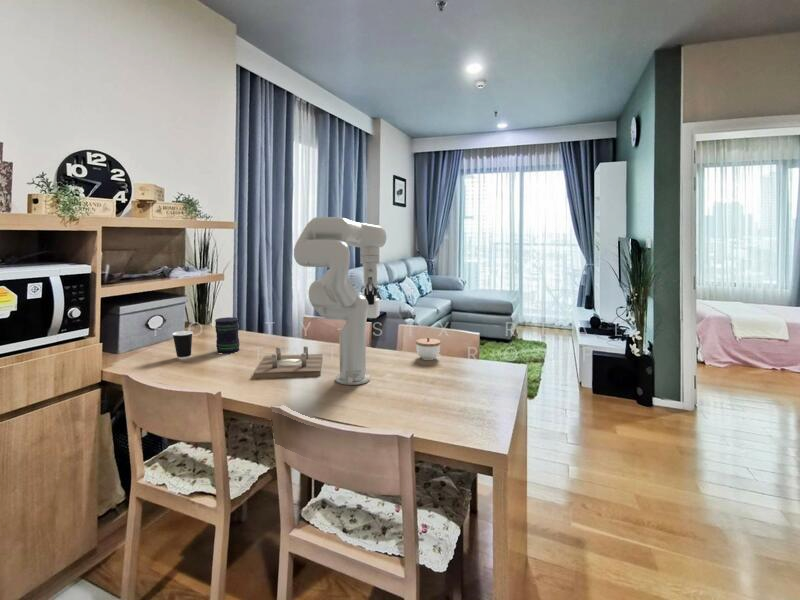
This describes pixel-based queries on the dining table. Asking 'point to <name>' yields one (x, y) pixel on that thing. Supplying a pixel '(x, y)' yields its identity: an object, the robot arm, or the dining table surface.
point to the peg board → (289, 365)
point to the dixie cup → (183, 343)
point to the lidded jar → (428, 348)
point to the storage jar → (227, 335)
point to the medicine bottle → (372, 309)
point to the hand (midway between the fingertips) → (369, 302)
